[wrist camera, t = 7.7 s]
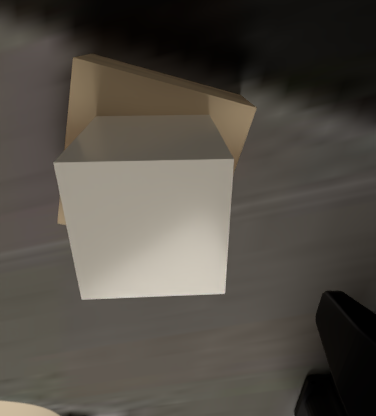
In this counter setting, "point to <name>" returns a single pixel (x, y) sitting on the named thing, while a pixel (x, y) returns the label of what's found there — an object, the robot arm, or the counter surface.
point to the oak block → (149, 100)
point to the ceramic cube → (147, 206)
